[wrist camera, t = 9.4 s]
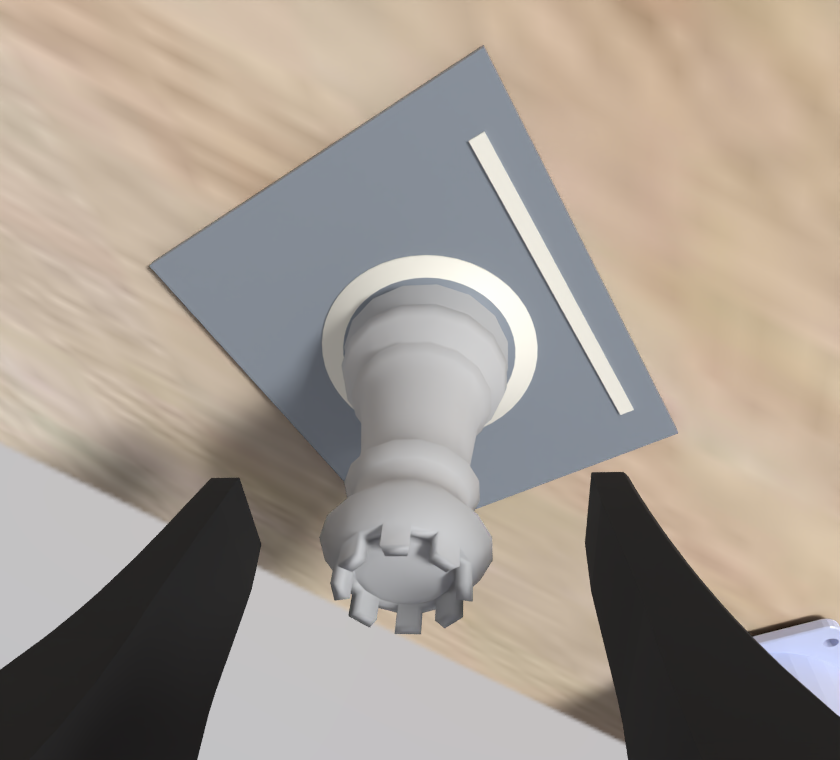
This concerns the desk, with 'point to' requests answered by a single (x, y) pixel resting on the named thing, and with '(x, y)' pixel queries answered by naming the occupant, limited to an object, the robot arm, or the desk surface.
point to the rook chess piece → (415, 455)
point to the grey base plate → (427, 281)
